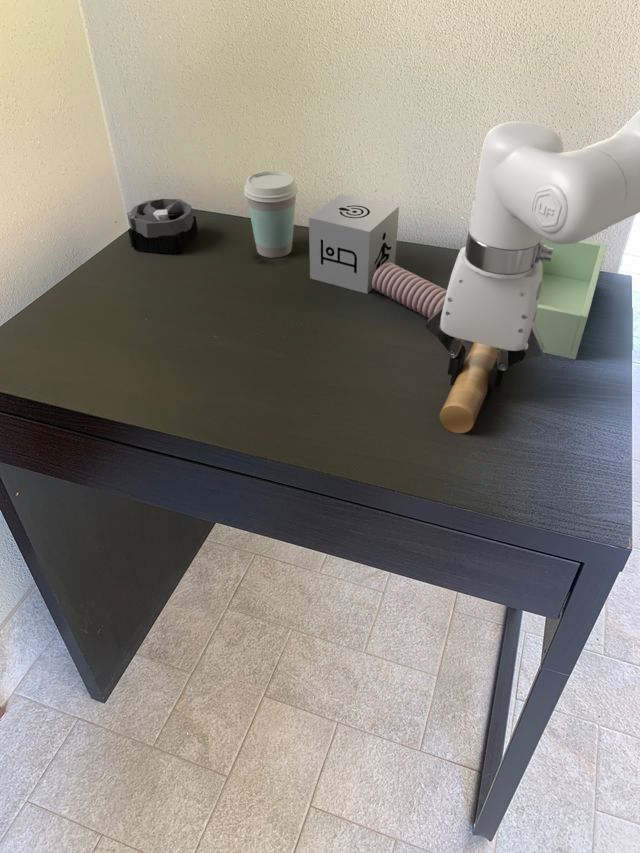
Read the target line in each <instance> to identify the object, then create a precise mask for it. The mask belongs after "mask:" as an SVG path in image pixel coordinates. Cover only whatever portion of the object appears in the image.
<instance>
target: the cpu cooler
mask: <svg viewBox="0 0 640 853" xmlns="http://www.w3.org/2000/svg"><path fill="white" fill-rule="evenodd" d="M126 216H127V221H128V224H129V227H130V228H129V229H128V231H127V232H128V237H129V241H130V247H131V248H133V250H135V251H140V252H148V253H150V252H152V253H158V254H159V253H160V254H161V253H162V254H167V255H168V254H170V255H176V254H177V253H183V252H184V251H185V250H186V249H187V247H188V246H189V245H190V244H191V242H192V241H193V240H194V239H195V237H196V236H197V235H198V234H199V231H198V230H199V229H198V225H197V224H198V223H197V217H196V216H194V212H193V208H192V205H191V204H189V203H188V202H186V201H184V200H182V199H181V198H158V199H150V200H145V201H144V202H142V203H140V204H138V205H135V206H134V207H133V208H132V209H131V211H129V212H126Z"/></svg>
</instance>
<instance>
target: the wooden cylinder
mask: <svg viewBox="0 0 640 853" xmlns="http://www.w3.org/2000/svg"><path fill="white" fill-rule="evenodd" d="M496 358H497V348H496V347H492V346H488V345H484V344H479V343H475V342H473V344H472V345H471V348H470V350H469V353H468V354H467V356H466V357H465V359H464V364H463V367H462V369H461V371H460V373H459V375H458V377H457V379H456V381H455V383H454V385H452V387H451V389H450V392H449V393H448V395H447V398H446V400H445V402H444V404H443V406H442V408H441V410H440V412H439V421H440V423H441V425H442V426H443V427H444V428H445V429H446V430H448V431H449V432H452V433H454V434H455V433H456V434H465V433H468V432H469V431H470V430H472V428H473V427H474V425H475V422H476V419H477V417H478V415H479V413H480V410H481V408H482V405H483V403H484V401H485V399H486V395H488V393H487V391H488V384H489V380H490V375H491V371H492V368H493V365H494V363H495V360H496Z"/></svg>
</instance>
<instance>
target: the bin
mask: <svg viewBox="0 0 640 853" xmlns="http://www.w3.org/2000/svg"><path fill="white" fill-rule="evenodd" d="M542 242H544V245H545V246H547V247H548V248H553V249H554V251H553V255H552V258H551V261H546V260H543V261H541V262H542V265H543V273H542V285H541V292H540V298H539V303H538V308H537V313H536V317H535V321H534V324H535V326H536V328H537V330H538V333H539V335H540V337H541V340H542V342H543V344H544V350H543V353H542V354H548V355H551V356H556V357H560V358H565V359H570V360H574V361H575V360H576V359H577V356H578V352H579V348H580V346H581V342H582V339H583V335H584V332H585V328H586V324H587V321H588V318H589V314H590V310H591V307H592V303H593V298H594V296H595V292H596V287H597V284H598V280H599V276H600V273H601V268H602V265H603V261H604V258H605V253H606V251H607V250H606V249H607V245H608V244H606V243H599V242H595V241H594V242H593V241H587V240H582V241H580V242H577V243H573V244H556V243H553V242H550V241H548V240H546V239H544V238H542ZM526 344H528V343H526Z"/></svg>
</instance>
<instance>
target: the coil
mask: <svg viewBox="0 0 640 853" xmlns="http://www.w3.org/2000/svg"><path fill="white" fill-rule="evenodd" d="M372 285H373V290H374V291H376V292H379V293H380V294H382V295H384V296H385V297H388V298H389V299H390V300H393V301H394V302H398V303H399V304H400V305H403V306H404V307H406V308H408V309H409V310H413V311H414V312H415V313H418V314H419V315H420V316H424V317H425V318H426V319H429V318H430V317H431V316H432V315H433V314H434V313H435V312H436V311H437V310H438V309H439V308H440V307H442V306H443V305H444V301H445V297H446V293H447V289H445V288H443V287H441V286H439V285H436V284H435V283H433V282H431V281H429V280H427V279H425V278H423V277H420V276H419V275H418V274H415V273H413V272H410V271H409V270H407V269H405V268H403V267H400V266H399V265H396V264H395V265H394V264H393V263H385V264H383V265H381V266H380V267H379V268H378V269H377V271H376V272H375V274H374V276H373V280H372Z"/></svg>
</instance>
